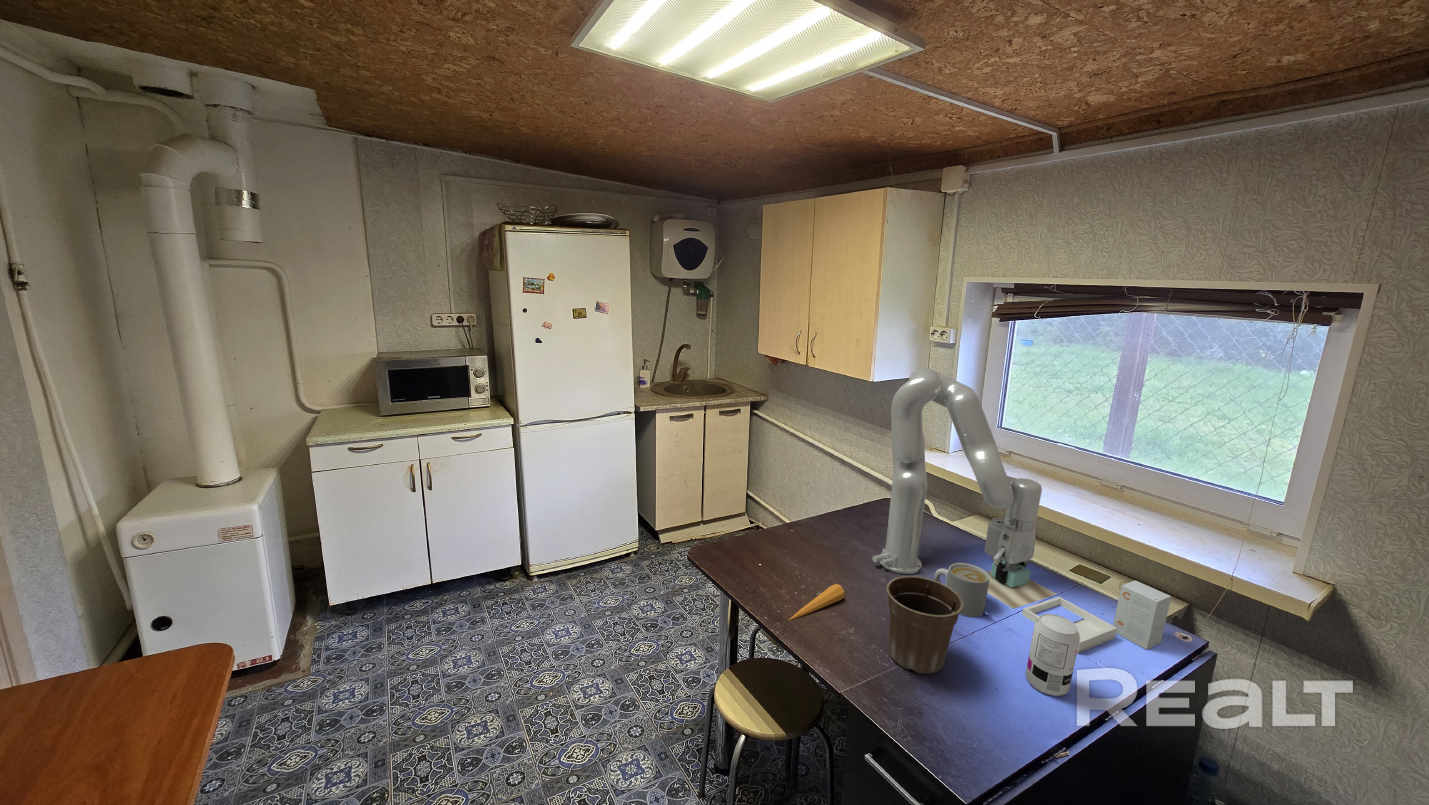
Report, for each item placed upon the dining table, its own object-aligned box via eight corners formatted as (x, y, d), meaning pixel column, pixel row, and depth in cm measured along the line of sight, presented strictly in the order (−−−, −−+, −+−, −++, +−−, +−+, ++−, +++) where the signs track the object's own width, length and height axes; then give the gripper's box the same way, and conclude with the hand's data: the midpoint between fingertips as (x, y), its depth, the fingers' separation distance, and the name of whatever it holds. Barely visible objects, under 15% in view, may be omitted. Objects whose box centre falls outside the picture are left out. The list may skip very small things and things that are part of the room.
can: (1004, 551, 178) (1009, 517, 175) (1014, 563, 170) (1020, 528, 168) (980, 549, 178) (985, 515, 176) (989, 561, 171) (994, 526, 168)
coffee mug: (991, 609, 146) (997, 575, 144) (971, 621, 140) (977, 586, 138) (945, 585, 157) (950, 554, 154) (925, 596, 151) (929, 563, 149)
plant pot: (914, 627, 137) (922, 569, 134) (969, 668, 123) (979, 604, 120) (865, 645, 130) (871, 584, 126) (917, 690, 116) (926, 623, 112)
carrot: (837, 596, 151) (832, 581, 151) (849, 598, 147) (844, 582, 147) (784, 628, 140) (779, 611, 140) (795, 631, 136) (790, 613, 136)
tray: (1077, 653, 129) (1079, 642, 129) (1021, 618, 142) (1023, 608, 141) (1114, 638, 135) (1117, 628, 135) (1057, 606, 148) (1059, 596, 148)
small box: (1161, 643, 134) (1172, 596, 131) (1146, 650, 131) (1158, 602, 128) (1125, 624, 141) (1135, 579, 138) (1110, 630, 138) (1120, 584, 135)
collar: (1011, 587, 154) (1014, 574, 153) (986, 572, 161) (988, 560, 160) (1028, 582, 157) (1030, 570, 156) (1002, 568, 164) (1004, 556, 163)
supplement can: (1017, 671, 123) (1027, 612, 119) (1051, 670, 123) (1063, 611, 120) (1041, 698, 115) (1053, 636, 111) (1077, 697, 115) (1091, 635, 112)
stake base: (1012, 612, 145) (1016, 591, 143) (963, 582, 159) (966, 562, 157) (1056, 598, 152) (1060, 578, 151) (1005, 570, 166) (1008, 551, 165)
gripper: (1010, 532, 147) (1000, 591, 151) (1052, 523, 154) (1041, 579, 158) (987, 521, 154) (977, 578, 158) (1028, 512, 161) (1017, 566, 165)
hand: (1009, 578), depth 158 cm, fingers closed on collar, 7 cm apart
